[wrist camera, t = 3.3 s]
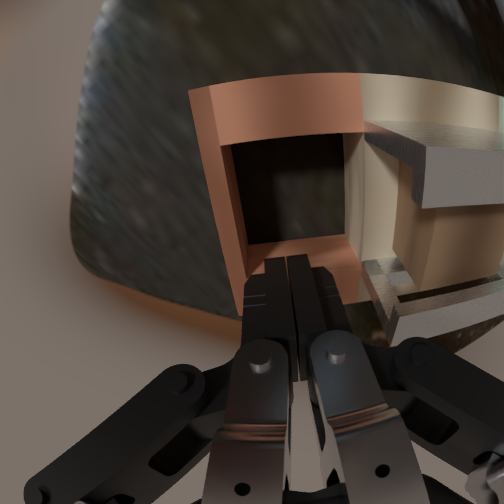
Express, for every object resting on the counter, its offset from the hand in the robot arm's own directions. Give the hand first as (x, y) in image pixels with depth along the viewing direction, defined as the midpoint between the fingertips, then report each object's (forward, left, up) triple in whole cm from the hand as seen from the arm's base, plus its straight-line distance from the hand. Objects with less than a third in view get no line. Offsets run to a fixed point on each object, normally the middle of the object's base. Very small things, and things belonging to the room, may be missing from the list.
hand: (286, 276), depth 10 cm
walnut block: (-10, 0, -5) cm, 11 cm away
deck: (-11, 0, -9) cm, 14 cm away
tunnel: (-10, 0, -5) cm, 11 cm away
